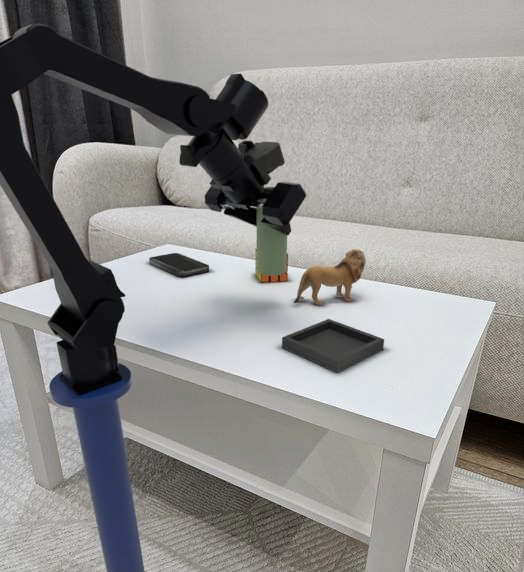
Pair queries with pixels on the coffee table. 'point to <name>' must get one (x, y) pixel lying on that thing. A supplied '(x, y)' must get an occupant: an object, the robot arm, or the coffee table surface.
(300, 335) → the tray
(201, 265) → the phone
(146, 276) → the coffee table surface
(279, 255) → the vase
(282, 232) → the robot arm
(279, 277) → the puzzle toy
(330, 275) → the lion figurine
